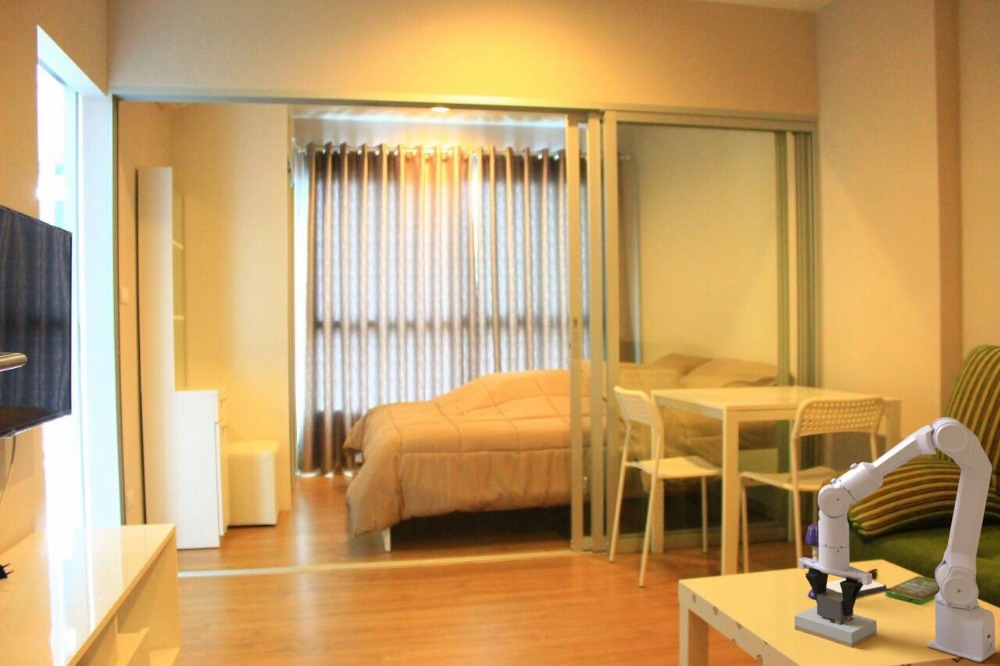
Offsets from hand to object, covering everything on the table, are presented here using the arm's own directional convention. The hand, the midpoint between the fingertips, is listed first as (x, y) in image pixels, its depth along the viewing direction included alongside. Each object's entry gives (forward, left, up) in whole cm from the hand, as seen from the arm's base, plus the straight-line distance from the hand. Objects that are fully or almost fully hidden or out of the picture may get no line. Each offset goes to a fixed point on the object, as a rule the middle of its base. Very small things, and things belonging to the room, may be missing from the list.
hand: (834, 611), depth 154 cm
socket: (0, 0, -4) cm, 4 cm away
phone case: (+11, -27, -5) cm, 30 cm away
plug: (0, 0, -2) cm, 3 cm away
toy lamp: (+13, -16, -4) cm, 21 cm away
